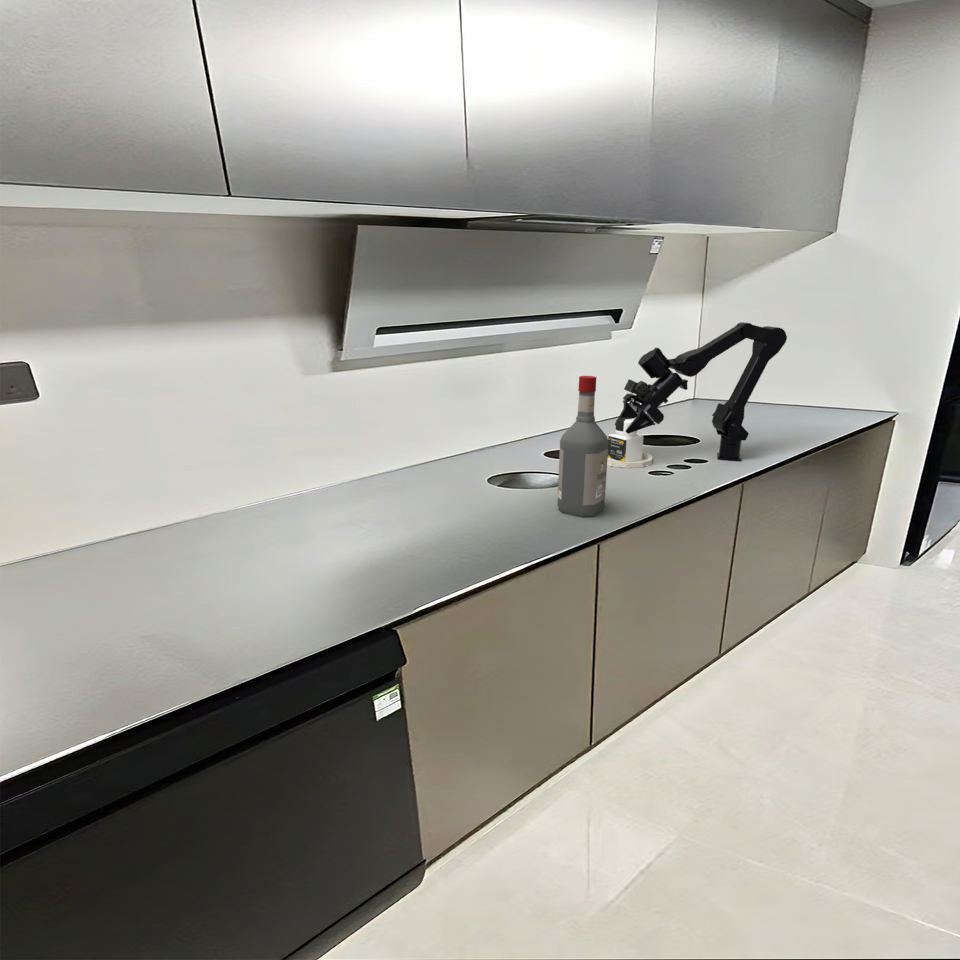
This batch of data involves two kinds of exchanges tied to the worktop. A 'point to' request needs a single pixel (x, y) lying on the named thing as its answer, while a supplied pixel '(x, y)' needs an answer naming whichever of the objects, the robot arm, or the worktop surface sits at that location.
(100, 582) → the worktop surface
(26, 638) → the worktop surface
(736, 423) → the robot arm
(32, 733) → the worktop surface
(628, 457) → the medicine bottle
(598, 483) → the liquor
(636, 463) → the coaster
